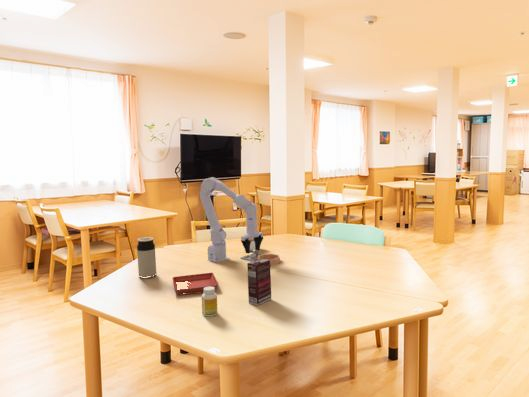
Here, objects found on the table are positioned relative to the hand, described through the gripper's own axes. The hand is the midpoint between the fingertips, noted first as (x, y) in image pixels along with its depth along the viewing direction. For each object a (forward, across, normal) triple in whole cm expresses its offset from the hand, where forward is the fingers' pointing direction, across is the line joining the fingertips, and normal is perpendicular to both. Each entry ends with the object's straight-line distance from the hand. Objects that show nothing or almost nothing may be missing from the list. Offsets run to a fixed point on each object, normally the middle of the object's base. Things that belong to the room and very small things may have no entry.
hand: (252, 251), depth 212 cm
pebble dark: (+4, +5, +3) cm, 8 cm away
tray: (+5, +3, +2) cm, 6 cm away
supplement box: (+5, -41, -42) cm, 59 cm away
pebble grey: (+4, 0, 0) cm, 4 cm away
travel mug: (+5, -50, +21) cm, 55 cm away
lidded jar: (+5, +15, +15) cm, 22 cm away
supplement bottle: (+5, -61, -36) cm, 71 cm away
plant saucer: (+5, -46, -9) cm, 47 cm away
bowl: (+5, +2, -9) cm, 11 cm away
